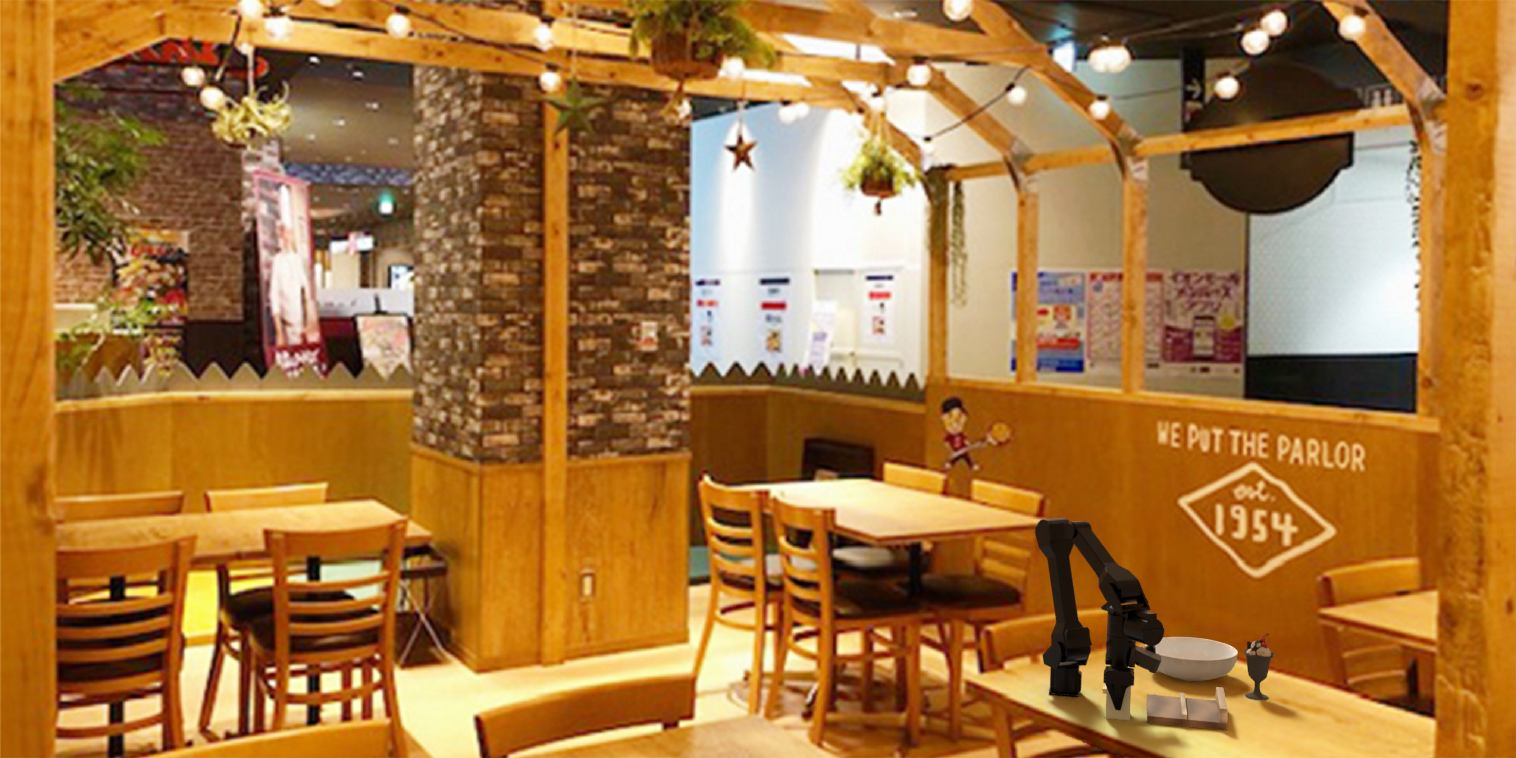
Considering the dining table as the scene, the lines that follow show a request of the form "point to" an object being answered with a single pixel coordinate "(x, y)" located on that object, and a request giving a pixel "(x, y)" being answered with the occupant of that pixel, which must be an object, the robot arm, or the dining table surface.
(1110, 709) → the cabinet block
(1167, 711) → the cleat board
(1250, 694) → the sundae
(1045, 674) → the dining table surface
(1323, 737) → the dining table surface
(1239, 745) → the dining table surface
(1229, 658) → the serving bowl
